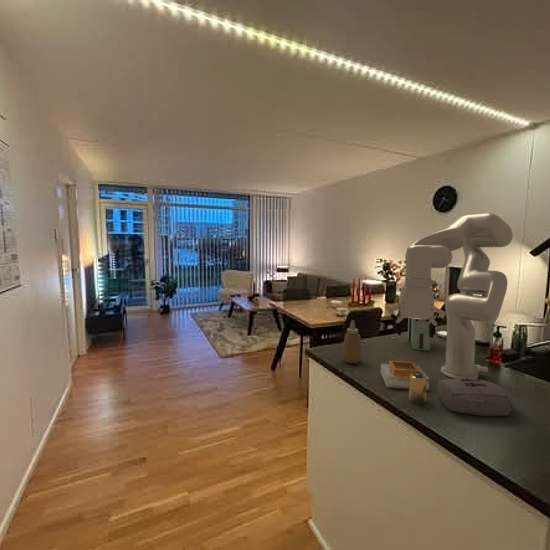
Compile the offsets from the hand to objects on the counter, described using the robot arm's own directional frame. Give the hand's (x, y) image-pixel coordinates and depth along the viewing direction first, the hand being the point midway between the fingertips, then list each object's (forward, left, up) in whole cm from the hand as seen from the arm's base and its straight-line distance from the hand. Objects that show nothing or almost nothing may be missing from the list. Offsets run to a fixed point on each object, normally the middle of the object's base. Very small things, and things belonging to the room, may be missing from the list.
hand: (414, 335), depth 101 cm
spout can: (-1, +2, -21) cm, 21 cm away
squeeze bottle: (+17, -30, -21) cm, 40 cm away
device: (-18, -58, -21) cm, 64 cm away
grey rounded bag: (-17, +4, -21) cm, 28 cm away
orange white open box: (0, -12, -21) cm, 24 cm away
